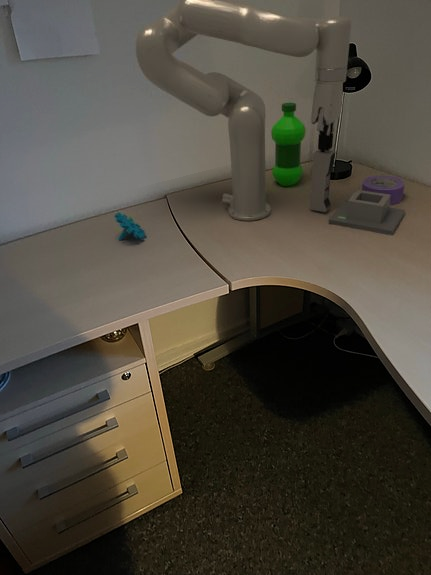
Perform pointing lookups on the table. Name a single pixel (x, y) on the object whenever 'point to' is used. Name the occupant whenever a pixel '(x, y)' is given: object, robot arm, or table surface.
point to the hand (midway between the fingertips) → (324, 148)
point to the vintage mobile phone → (321, 180)
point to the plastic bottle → (288, 146)
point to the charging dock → (368, 213)
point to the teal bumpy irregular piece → (129, 226)
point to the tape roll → (385, 187)
